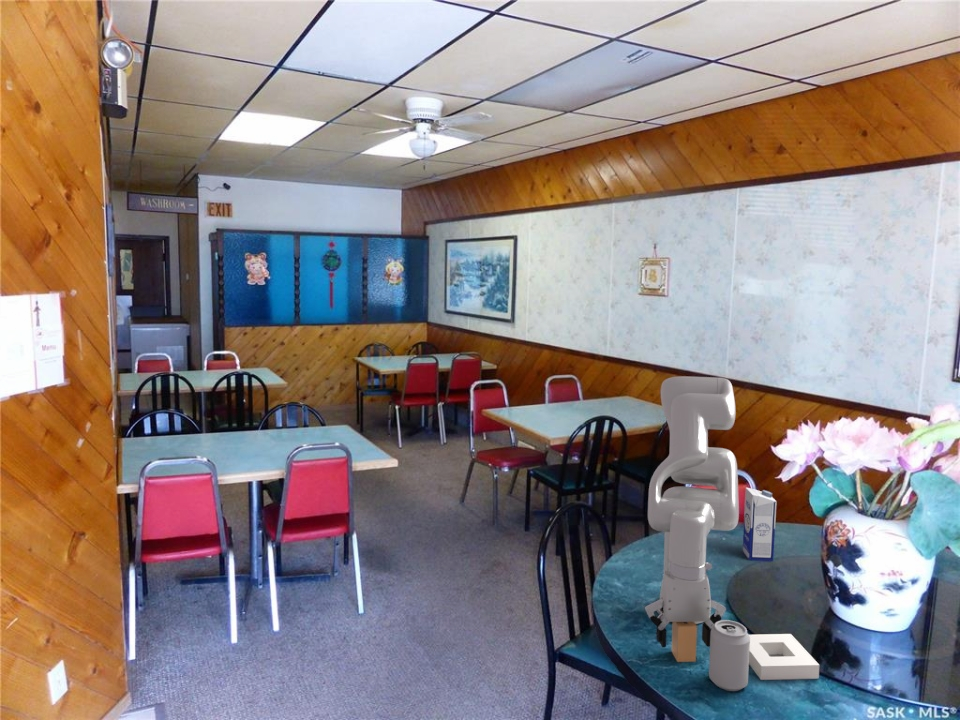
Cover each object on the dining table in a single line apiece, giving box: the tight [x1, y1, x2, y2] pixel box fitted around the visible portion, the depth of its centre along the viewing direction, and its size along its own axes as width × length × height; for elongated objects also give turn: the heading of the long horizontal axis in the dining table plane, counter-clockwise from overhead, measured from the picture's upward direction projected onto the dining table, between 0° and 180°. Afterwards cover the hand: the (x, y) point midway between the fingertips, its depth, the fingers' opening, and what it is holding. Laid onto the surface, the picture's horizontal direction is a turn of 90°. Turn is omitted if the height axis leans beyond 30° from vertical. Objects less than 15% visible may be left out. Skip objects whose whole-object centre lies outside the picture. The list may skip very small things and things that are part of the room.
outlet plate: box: [749, 633, 820, 681], centre depth 143 cm, size 12×12×3 cm
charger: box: [671, 622, 698, 663], centre depth 145 cm, size 4×4×8 cm
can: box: [708, 619, 750, 692], centre depth 135 cm, size 8×8×12 cm
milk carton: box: [742, 486, 777, 562], centre depth 196 cm, size 7×7×20 cm
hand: (684, 643), depth 145 cm, fingers open, 9 cm apart
